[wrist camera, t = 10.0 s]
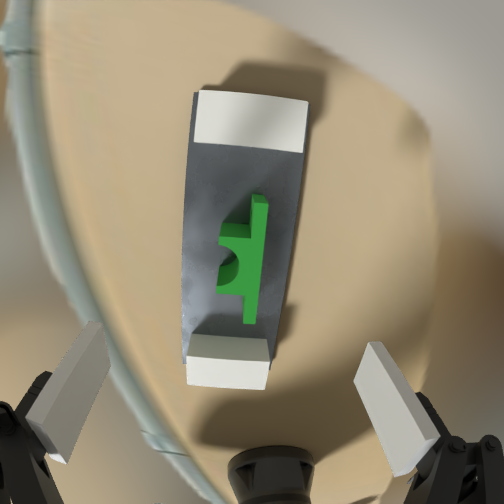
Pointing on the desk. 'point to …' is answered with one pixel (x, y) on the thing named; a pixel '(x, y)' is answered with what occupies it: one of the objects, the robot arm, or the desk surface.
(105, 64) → the desk surface
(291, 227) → the mounting rail
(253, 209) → the pipe clamp
